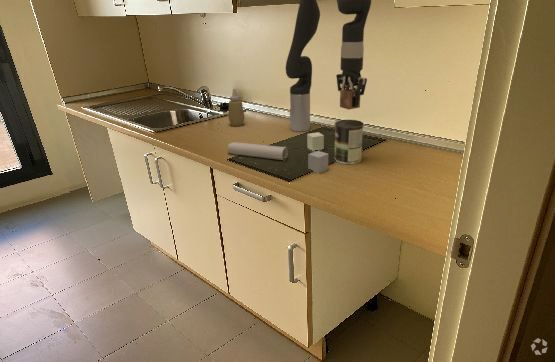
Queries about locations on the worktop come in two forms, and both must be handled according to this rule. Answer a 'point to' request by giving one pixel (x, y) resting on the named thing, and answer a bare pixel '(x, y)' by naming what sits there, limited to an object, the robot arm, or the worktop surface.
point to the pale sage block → (315, 141)
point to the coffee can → (348, 141)
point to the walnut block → (347, 99)
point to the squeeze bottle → (236, 110)
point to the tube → (257, 150)
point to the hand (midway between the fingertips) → (349, 105)
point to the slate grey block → (318, 161)
